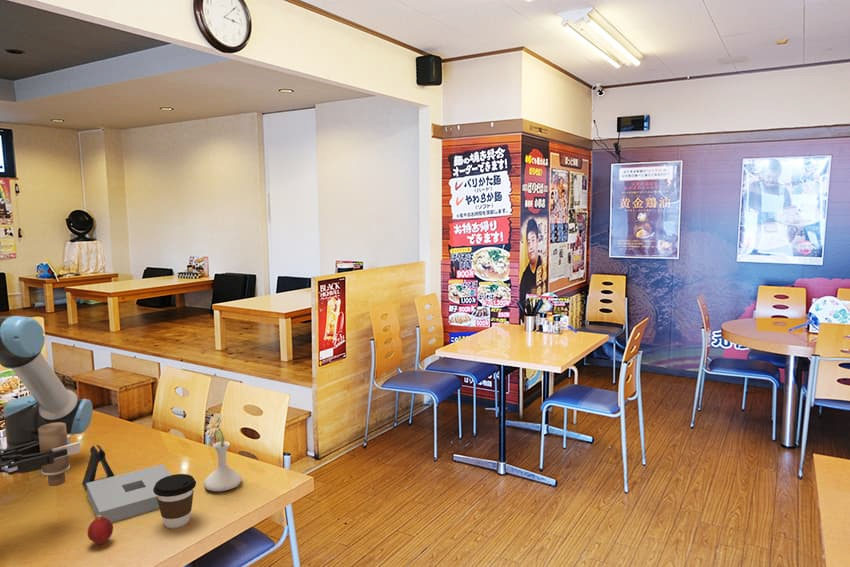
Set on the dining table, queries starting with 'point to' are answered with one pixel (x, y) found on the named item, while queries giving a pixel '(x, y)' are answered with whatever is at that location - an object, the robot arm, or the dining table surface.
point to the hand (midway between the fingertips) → (74, 443)
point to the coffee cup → (175, 499)
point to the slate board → (126, 493)
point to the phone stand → (93, 464)
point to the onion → (100, 530)
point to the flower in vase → (220, 461)
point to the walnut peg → (48, 440)
